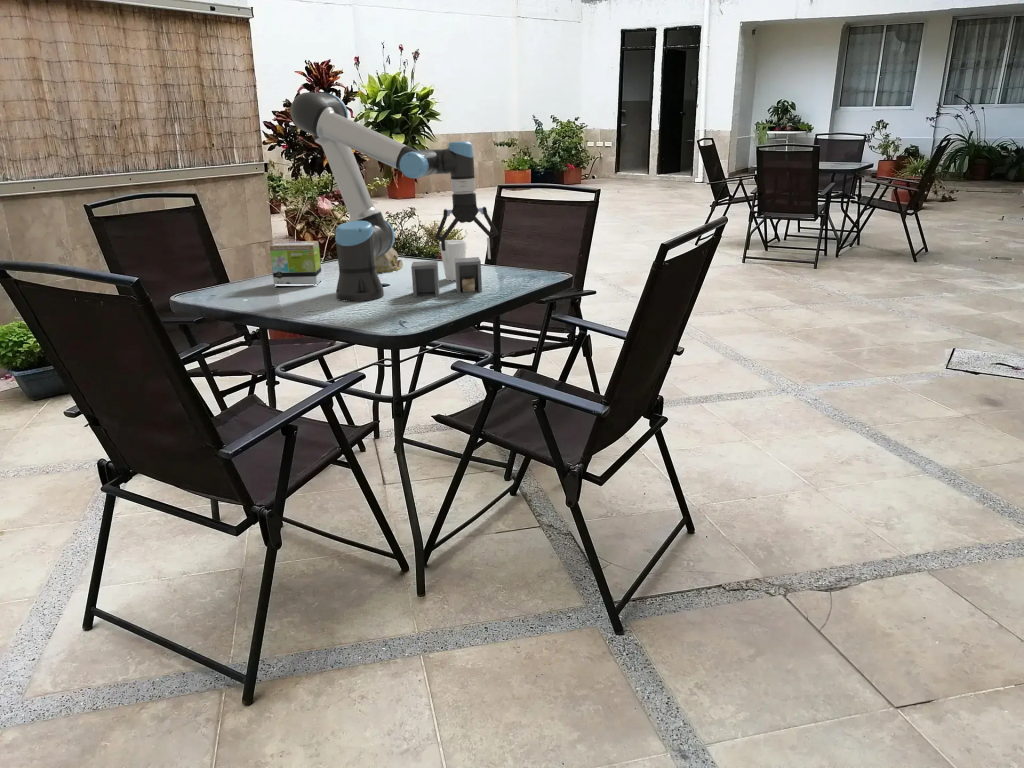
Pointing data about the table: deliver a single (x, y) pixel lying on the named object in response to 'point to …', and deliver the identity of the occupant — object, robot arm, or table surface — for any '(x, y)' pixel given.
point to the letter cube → (468, 283)
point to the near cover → (425, 277)
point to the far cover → (468, 271)
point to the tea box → (296, 262)
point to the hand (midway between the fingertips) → (468, 259)
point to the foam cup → (453, 256)
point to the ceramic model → (388, 262)
